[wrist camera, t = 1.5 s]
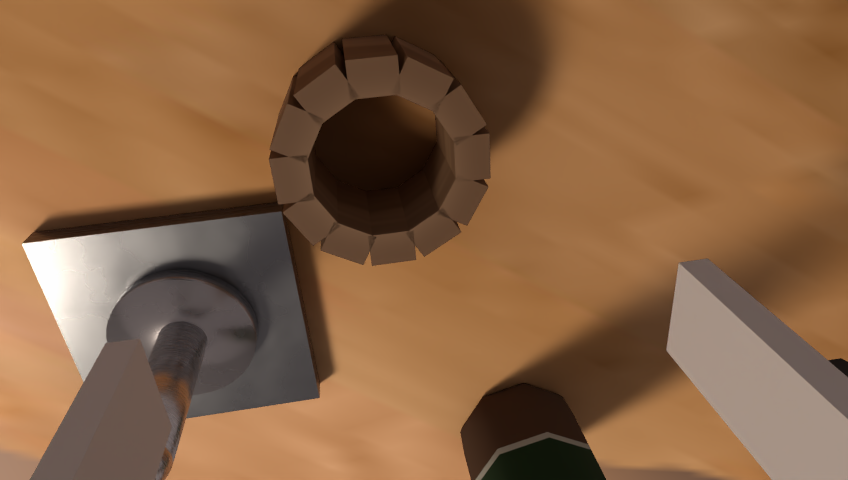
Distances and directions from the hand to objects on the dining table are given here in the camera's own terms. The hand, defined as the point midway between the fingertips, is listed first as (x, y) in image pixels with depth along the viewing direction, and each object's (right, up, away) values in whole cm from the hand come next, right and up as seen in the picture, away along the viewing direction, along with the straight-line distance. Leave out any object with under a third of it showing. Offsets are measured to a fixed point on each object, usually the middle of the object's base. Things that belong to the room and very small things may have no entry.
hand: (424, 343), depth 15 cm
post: (-13, -2, +17) cm, 22 cm away
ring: (-2, +8, +14) cm, 16 cm away
